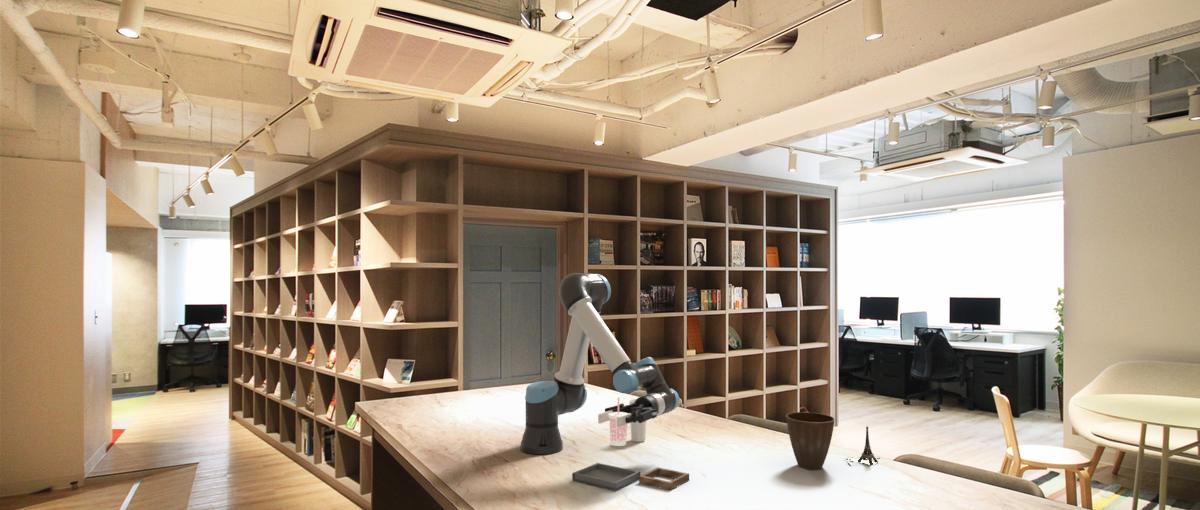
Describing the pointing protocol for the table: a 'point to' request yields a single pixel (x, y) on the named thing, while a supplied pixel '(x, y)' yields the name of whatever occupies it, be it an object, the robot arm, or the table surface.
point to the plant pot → (810, 438)
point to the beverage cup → (617, 429)
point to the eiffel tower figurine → (867, 448)
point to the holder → (650, 480)
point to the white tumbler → (637, 429)
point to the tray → (606, 476)
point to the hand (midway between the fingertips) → (608, 420)
